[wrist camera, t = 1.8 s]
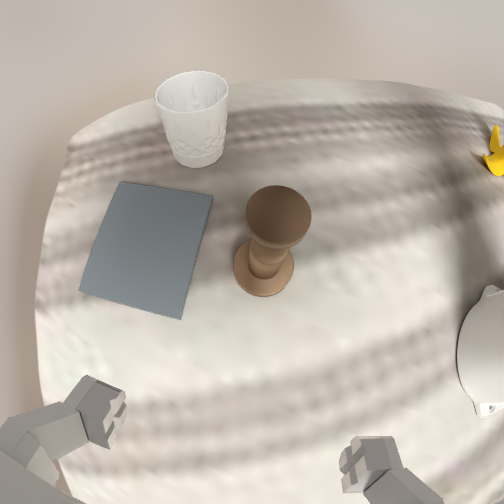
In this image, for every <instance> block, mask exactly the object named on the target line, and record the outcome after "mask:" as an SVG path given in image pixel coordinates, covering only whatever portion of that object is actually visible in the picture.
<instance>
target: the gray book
mask: <svg viewBox="0 0 504 504" xmlns="http://www.w3.org/2000/svg"><path fill="white" fill-rule="evenodd" d="M212 201H213V196H211V195H205V194H199V193H193V192H187V191H181V190H174V189H168V188H162V187H155V186H148V185H141V184H134V183H127V182H120V183H119V185H118V187H117V189H116V191H115V194H114V196H113V198H112V200H111V203H110V205H109V207H108V210H107V212H106V215H105V217H104V219H103V222H102V224H101V227H100V229H99V232H98V235H97V237H96V240H95V243H94V245H93V248H92V251H91V254H90V257H89V259H88V262H87V265H86V268H85V271H84V274H83V278H82V281H81V284H80V287H79V291H81V292H84V293H87V294H90V295H93V296H96V297H99V298H103V299H106V300H109V301H113V302H116V303H119V304H123V305H126V306H130V307H133V308H137V309H141V310H144V311H148V312H152V313H155V314H159V315H163V316H167V317H171V318H175V319H179V320H181V318H182V313H183V309H184V305H185V301H186V297H187V293H188V289H189V285H190V281H191V277H192V273H193V270H194V266H195V262H196V258H197V254H198V251H199V247H200V243H201V240H202V236H203V233H204V229H205V225H206V222H207V218H208V215H209V212H210V208H211V205H212Z"/></svg>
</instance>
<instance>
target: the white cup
mask: <svg viewBox="0 0 504 504" xmlns="http://www.w3.org/2000/svg"><path fill="white" fill-rule="evenodd" d="M228 95H229V85H228V83H227V81H226V80H225V79H224V78H223V77H221V76H220V75H218V74H215V73H212V72H208V71H189V72H184V73H180V74H177V75H174V76H172V77H170V78H168V79H167V80H165V81H164V82H163V83H162V84H161V85H160V86H159V87H158V89H157V90H156V92H155V101H156V105H157V108H158V111H159V115H160V118H161V122H162V125H163V128H164V131H165V134H166V137H167V140H168V142H169V144H170V146H171V149H172V152H173V155H174V158H175V160H177V161H178V162H179V163H180V164H181V165H183V166H186V167H190V168H202V167H206V166H208V165H210V164H213V163H215V162H216V161H217V160H218V159H219V158H220V157H221V156H222V154H223V150H224V144H225V135H226V124H227V111H228Z"/></svg>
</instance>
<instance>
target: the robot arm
mask: <svg viewBox="0 0 504 504" xmlns="http://www.w3.org/2000/svg"><path fill="white" fill-rule="evenodd" d="M457 364H458V372H459V377H460V381H461V384H462V386H463V388H464V390H465V392H466V393H467V395H468V396H469V397H470V398H471V399H472V401H473V402H474V405H475V409H476V412H477V415H478V417H479V418H483V417H487V416H489V415H491V414H493V413H495V412H497V411H499V410H500V409H502V408H504V290H501V289H499V288H497V287H496V286H494V285H489V286H486V287H485V289H484V291H483V293H482V296H481V299H480V300H479V302H478V303H477V304H476V305H475V306H474V307H473V308H472V309H471V310H470V311H469V313H468V314H467V316H466V318H465V320H464V322H463V325H462V328H461V331H460V335H459V341H458V349H457ZM125 398H126V396H125V391H123V390H120V389H118V388H116V387H113V386H111V385H108V384H106V383H104V382H102V381H99V380H97V379H95V378H93V377H90V376H88V375H86V376H84V377H82V379H81V380H80V381H79V383H78V384H77V385H76V386H75V388H74V389H73V390H72V392H71V393H70V394H69V396H68V397H67V398H66V400H65V401H64V402H63V403H62V402H57V403H54V404H51V405H48V406H45V407H42V408H39V409H36V410H32V411H29V412H26V413H23V414H20V415H16V416H13V417H9V418H8V419H7V420H6V422H5V423H4V424H3V425H2V426H1V428H0V504H86V503H84V502H82V501H80V500H78V499H76V498H75V497H73V496H71V495H69V494H67V493H65V492H63V491H62V490H60V489H58V488H56V487H55V484H56V482H57V480H58V478H59V476H60V474H59V472H58V470H57V469H56V467H55V466H54V464H53V462H52V461H53V460H56V459H58V458H60V457H62V456H64V455H66V454H68V453H69V452H71V451H73V450H75V449H77V448H79V447H81V446H82V445H84V444H86V443H88V442H89V441H90V442H93V443H95V444H97V445H100V446H102V447H105V448H107V449H109V450H110V449H111V447H112V445H113V443H114V441H115V439H116V437H117V435H116V430H118V429H120V428H121V427H122V425H123V423H124V421H125V418H126V413H127V406H126V404H125V403H124V402H123V401H124V400H125ZM350 443H351V446H349V447H347V448H345V449H344V450H343V452H342V453H341V456H340V459H339V467H340V471H341V472H342V473H343V474H344V476H343V477H342V479H341V482H342V488H343V493H360V492H364V493H363V494H364V496H365V497H366V498H367V499H368V501H369V502H370V503H371V504H444V502H443V499H442V498H441V497H440V496H439V495H438V494H436V493H435V492H434V491H433V490H432V489H430V488H429V487H428V486H427V485H426V484H424V483H423V482H422V481H421V480H420V479H419V478H417V477H416V476H415V475H414V474H413V473H412V472H411V471H409V470H408V469H407V468H403V465H402V462H401V459H400V456H399V453H398V450H397V447H396V444H395V441H394V438H393V437H392V436H380V437H379V436H356V437H354V438H353V439H352V440H351V442H350ZM494 504H504V499H502V500H500V501H498V502H496V503H494Z"/></svg>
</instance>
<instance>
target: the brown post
mask: <svg viewBox="0 0 504 504" xmlns="http://www.w3.org/2000/svg"><path fill="white" fill-rule="evenodd" d="M310 223H311V210H310V207H309V205H308V203H307V201H306V200H305V199H304V198H303V196H302V195H300V194H299V193H298V192H296V191H295V190H293V189H291V188H288V187H285V186H276V185H275V186H268V187H264V188H262V189H260V190H258V191H257V192H256V193H254V194H253V195H252V197H251V198H250V200H249V202H248V204H247V208H246V226H247V229H248V231H249V233H250V234H251V236H252V237H251V239H249V240H247V241H246V242H244V243H243V244H242V245H241V246H240V247H239V249H238V250H237V252H236V254H235V258H234V275H235V278H236V281H237V282H238V284H239V285H240V287H241V288H242V289H243V290H245V291H246V292H248V293H249V294H252V295H254V296H259V297H268V296H272V295H275V294H277V293H279V292H280V291H281V290H283V288H284V287H285V286H286V285H287V283H288V282H289V280H290V279H291V277H292V274H293V270H294V262H293V258H292V255H291V253H290V251H289V248H290V247H292V246H294V245H296V244H297V243H299V242H300V241H301V240H302V239H303V237H304V236H305V234H306V232H307V230H308V228H309V226H310Z"/></svg>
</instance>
